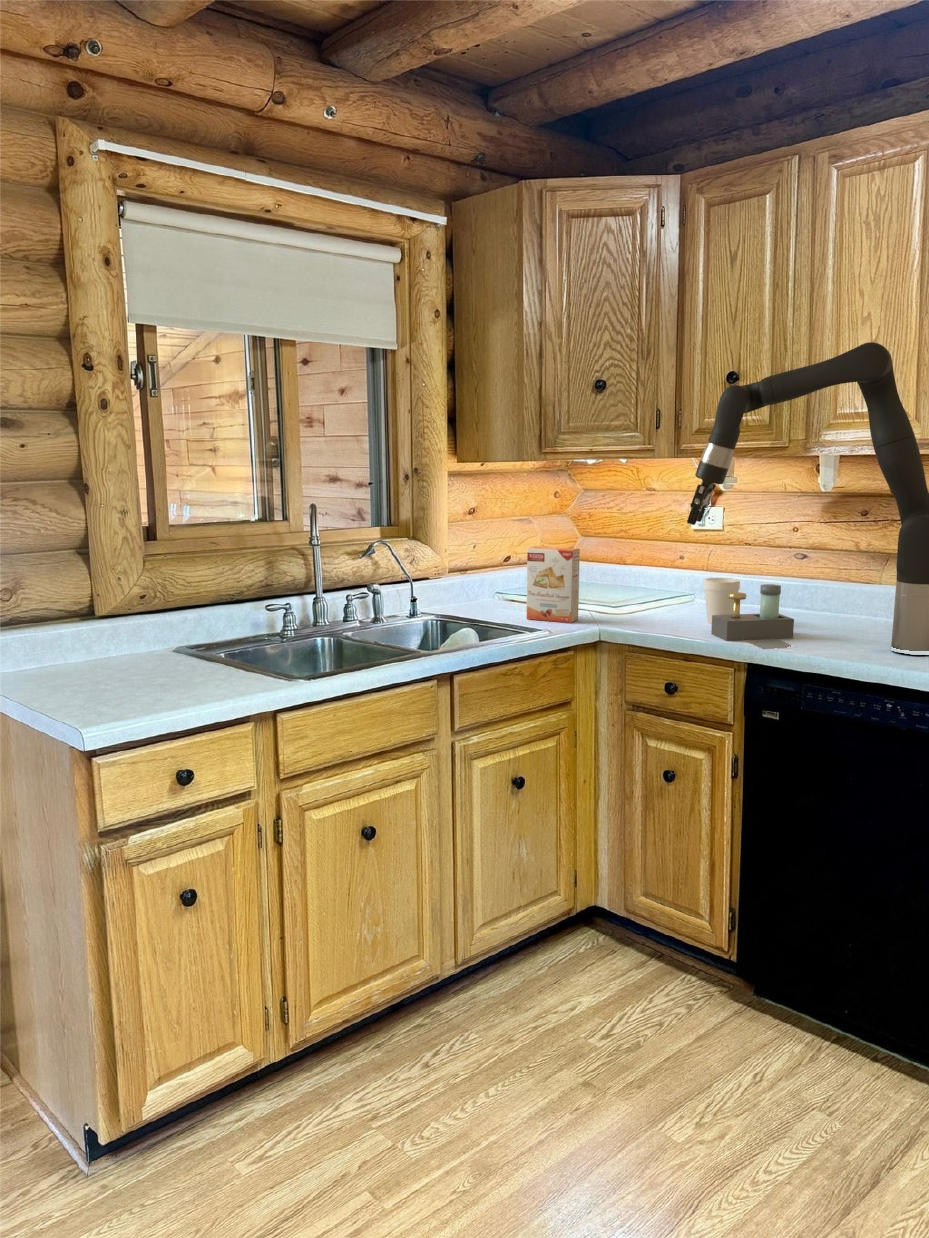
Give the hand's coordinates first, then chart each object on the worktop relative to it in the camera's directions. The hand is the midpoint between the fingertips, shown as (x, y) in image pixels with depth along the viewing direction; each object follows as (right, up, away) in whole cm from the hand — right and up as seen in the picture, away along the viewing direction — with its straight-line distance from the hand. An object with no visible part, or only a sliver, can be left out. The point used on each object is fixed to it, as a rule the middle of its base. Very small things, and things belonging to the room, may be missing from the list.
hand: (693, 522), depth 251 cm
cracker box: (-35, -26, +24) cm, 50 cm away
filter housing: (+14, -31, -5) cm, 34 cm away
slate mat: (+15, -33, -15) cm, 39 cm away
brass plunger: (+9, -28, -6) cm, 30 cm away
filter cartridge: (+18, -30, -5) cm, 35 cm away
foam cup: (+10, -28, +13) cm, 32 cm away
